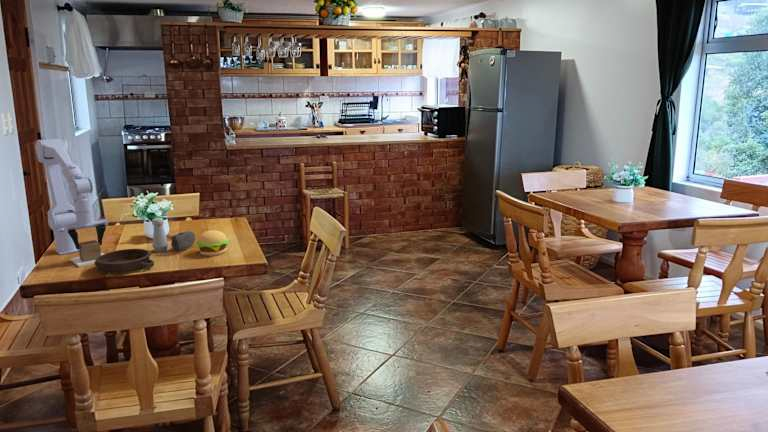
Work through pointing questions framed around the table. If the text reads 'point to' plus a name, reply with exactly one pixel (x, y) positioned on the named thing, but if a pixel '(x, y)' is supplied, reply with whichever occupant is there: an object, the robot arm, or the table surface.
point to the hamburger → (212, 243)
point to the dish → (124, 261)
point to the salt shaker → (159, 235)
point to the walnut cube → (89, 250)
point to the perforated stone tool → (182, 241)
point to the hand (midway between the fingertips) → (89, 246)
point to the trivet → (80, 262)
